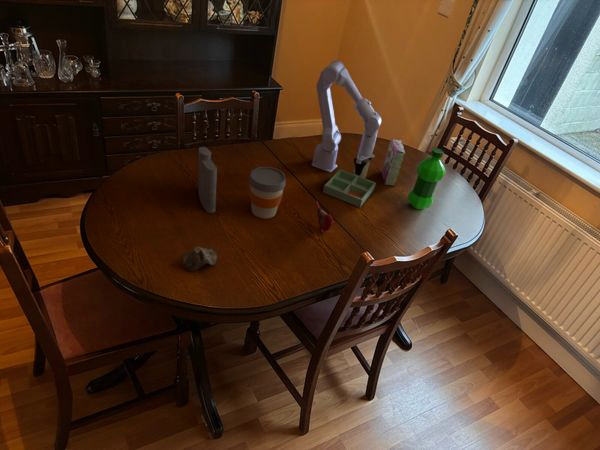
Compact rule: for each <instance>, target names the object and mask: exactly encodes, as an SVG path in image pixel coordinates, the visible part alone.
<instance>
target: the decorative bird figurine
mask: <svg viewBox="0 0 600 450" xmlns="http://www.w3.org/2000/svg"><path fill="white" fill-rule="evenodd" d="M315 204H316V209H317V210H316V211H317V213H316V214H317V215H316V216H317V222H318V225H319V229H320V231H321V233H322V234H323V235H325V234H324V231H326V232H327V231H330V229H331V227H332V226H333V223H334V218H333V216H332V215H331V214H330V213H329V214H328V213H327V212H326V211H324V210H323V209H322V208H321V207H320V205H319V203H318V200H317V199H315Z"/></svg>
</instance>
